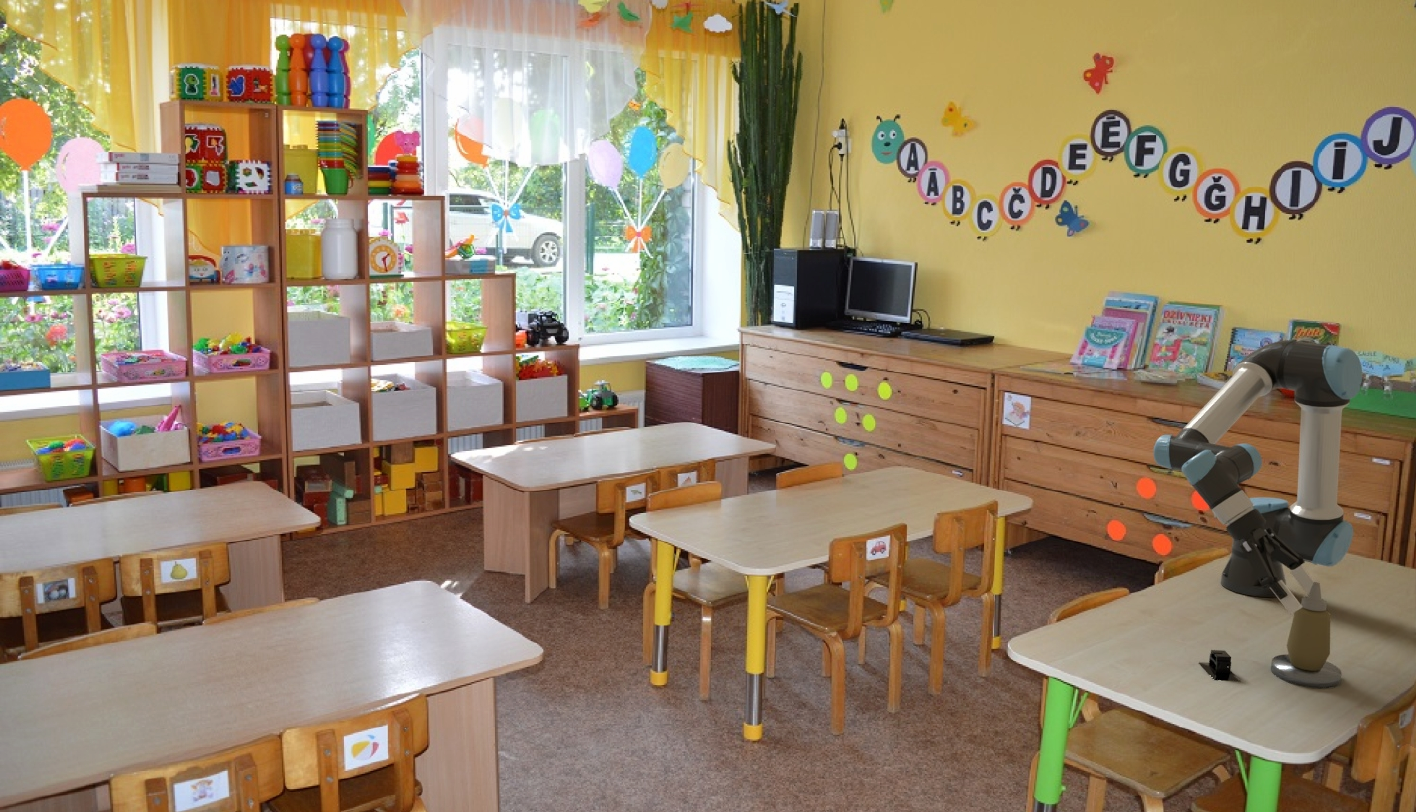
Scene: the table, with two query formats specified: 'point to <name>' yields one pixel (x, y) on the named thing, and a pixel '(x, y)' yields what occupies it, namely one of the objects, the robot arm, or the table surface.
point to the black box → (1219, 666)
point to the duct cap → (1306, 674)
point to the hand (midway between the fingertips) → (1306, 602)
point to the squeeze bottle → (1310, 632)
